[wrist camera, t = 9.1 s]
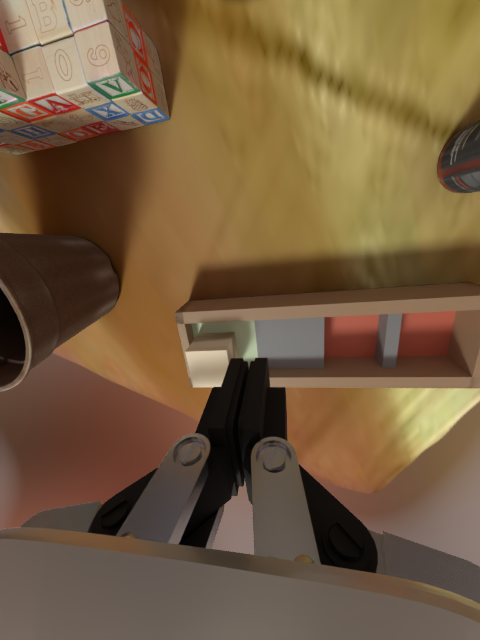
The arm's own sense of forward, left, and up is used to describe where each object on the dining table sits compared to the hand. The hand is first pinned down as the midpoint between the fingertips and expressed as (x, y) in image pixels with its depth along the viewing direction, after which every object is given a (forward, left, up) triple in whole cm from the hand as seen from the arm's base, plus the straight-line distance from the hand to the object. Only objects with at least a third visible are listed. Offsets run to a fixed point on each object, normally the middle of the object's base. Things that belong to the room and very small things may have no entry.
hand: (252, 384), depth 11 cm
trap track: (+8, +5, -23) cm, 24 cm away
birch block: (+9, -8, -20) cm, 23 cm away
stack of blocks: (-22, -21, -23) cm, 38 cm away
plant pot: (-2, -28, -23) cm, 36 cm away
